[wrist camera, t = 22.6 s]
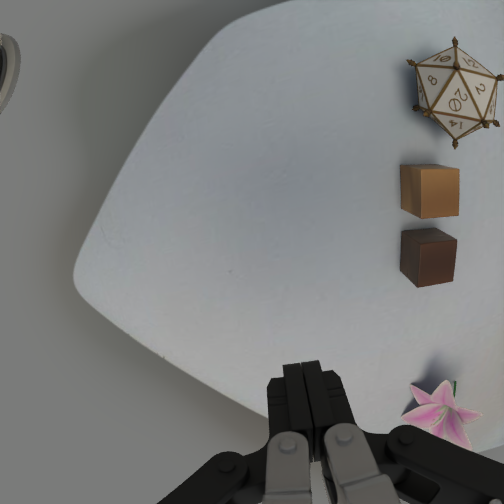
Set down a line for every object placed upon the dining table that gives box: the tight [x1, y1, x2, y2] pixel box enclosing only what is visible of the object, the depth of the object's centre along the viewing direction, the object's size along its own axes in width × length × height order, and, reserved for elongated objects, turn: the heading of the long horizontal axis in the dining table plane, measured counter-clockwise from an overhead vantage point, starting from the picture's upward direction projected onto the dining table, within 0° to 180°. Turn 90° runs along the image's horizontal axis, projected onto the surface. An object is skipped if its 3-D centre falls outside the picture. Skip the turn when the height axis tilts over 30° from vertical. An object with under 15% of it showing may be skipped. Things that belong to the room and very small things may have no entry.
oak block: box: [400, 164, 459, 219], centre depth 24 cm, size 4×4×4 cm
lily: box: [401, 380, 483, 451], centre depth 31 cm, size 12×12×10 cm
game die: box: [407, 36, 504, 150], centre depth 19 cm, size 9×8×10 cm
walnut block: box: [400, 228, 457, 288], centre depth 26 cm, size 4×4×4 cm
